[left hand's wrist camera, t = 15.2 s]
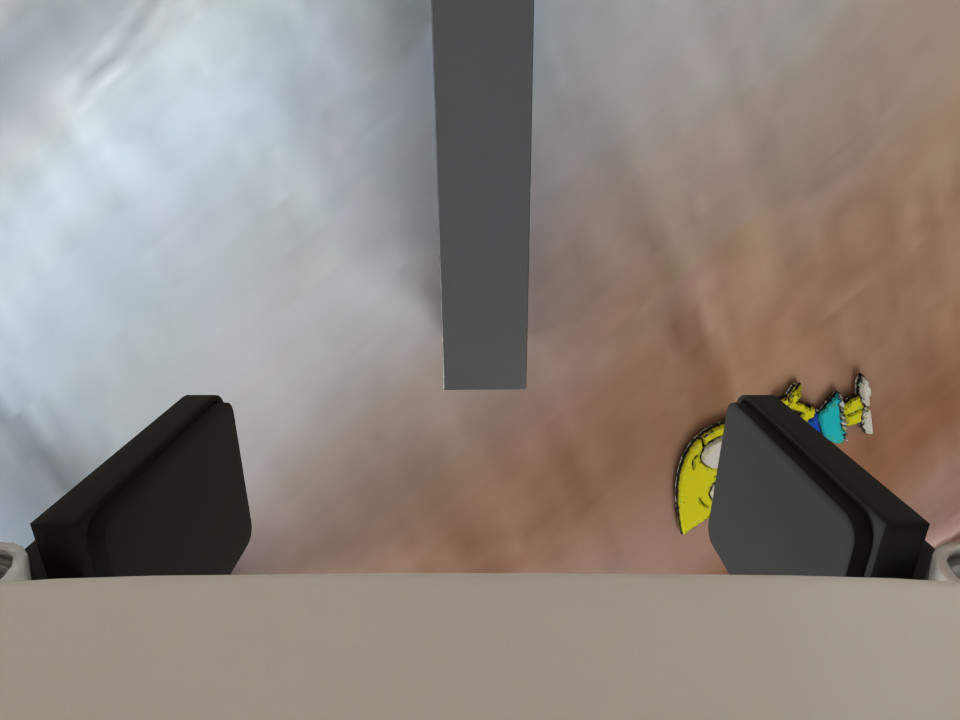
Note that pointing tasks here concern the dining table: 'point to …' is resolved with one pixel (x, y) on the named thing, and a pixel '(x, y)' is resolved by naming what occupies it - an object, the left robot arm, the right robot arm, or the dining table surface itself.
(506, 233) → the beam
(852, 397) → the toy
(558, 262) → the dining table surface
